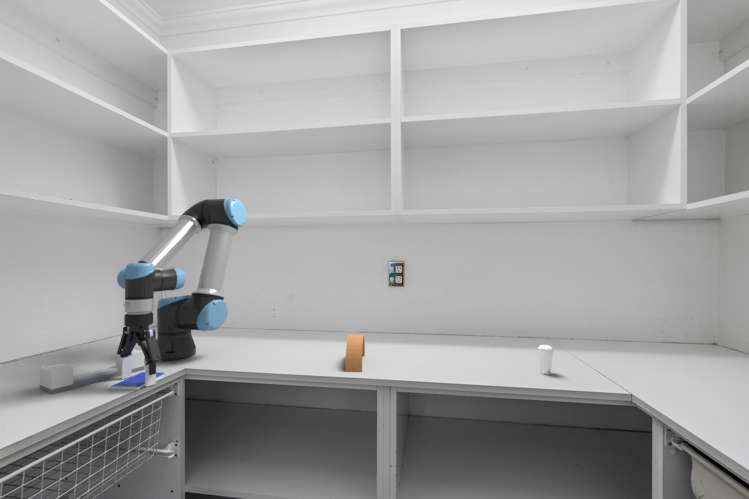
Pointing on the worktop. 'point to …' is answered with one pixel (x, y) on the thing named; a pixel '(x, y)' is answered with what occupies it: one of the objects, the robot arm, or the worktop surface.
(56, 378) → the rail board
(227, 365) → the worktop surface
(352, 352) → the arch
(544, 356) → the milkshake
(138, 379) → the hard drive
